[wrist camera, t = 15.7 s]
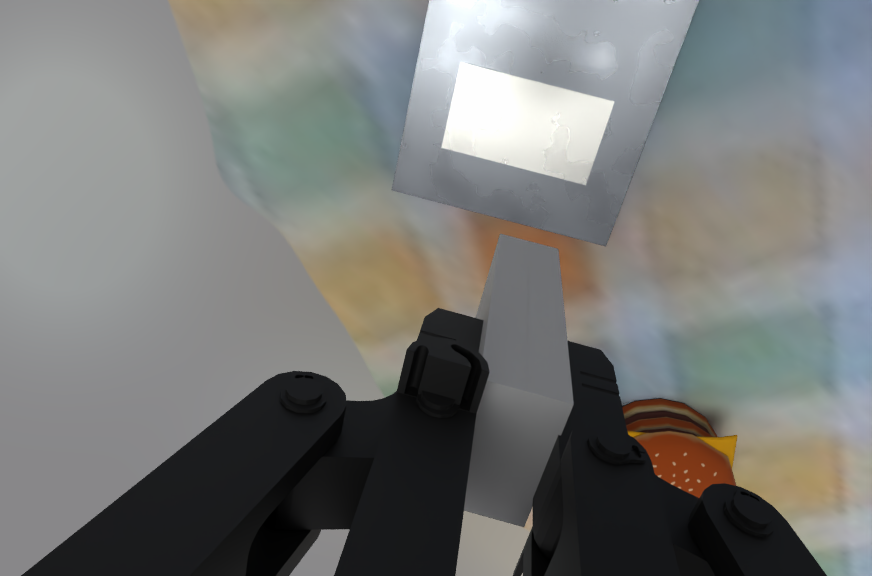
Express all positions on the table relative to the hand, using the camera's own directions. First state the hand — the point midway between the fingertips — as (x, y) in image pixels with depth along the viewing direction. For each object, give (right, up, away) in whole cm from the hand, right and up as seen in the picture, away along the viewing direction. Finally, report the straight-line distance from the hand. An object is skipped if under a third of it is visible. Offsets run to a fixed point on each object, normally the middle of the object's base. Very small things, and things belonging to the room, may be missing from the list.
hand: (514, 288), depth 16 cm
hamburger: (+14, -12, +31) cm, 36 cm away
